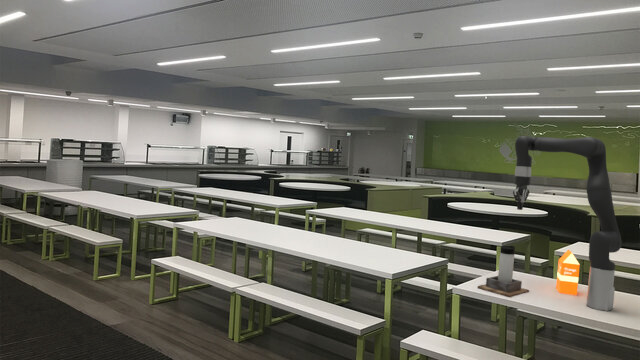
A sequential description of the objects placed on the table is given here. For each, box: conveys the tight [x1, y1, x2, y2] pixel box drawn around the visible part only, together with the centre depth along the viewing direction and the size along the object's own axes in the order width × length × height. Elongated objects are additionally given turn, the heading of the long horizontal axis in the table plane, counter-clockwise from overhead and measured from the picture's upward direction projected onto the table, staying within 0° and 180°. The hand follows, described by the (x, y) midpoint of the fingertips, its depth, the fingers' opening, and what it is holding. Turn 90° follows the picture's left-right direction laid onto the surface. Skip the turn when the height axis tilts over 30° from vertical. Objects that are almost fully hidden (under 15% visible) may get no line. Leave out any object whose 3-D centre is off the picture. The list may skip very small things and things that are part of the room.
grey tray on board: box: [477, 275, 530, 298], centre depth 221 cm, size 16×18×5 cm
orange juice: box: [555, 249, 581, 296], centre depth 226 cm, size 8×9×20 cm
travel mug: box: [497, 245, 516, 283], centre depth 221 cm, size 6×7×20 cm
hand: (519, 209), depth 237 cm, fingers closed
